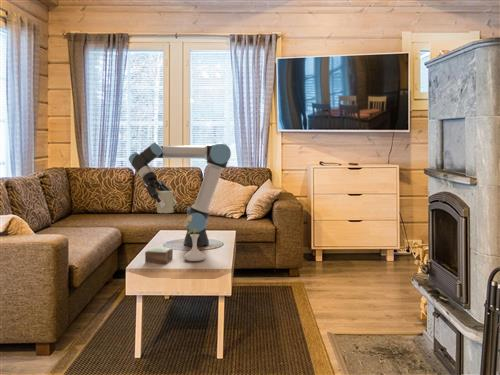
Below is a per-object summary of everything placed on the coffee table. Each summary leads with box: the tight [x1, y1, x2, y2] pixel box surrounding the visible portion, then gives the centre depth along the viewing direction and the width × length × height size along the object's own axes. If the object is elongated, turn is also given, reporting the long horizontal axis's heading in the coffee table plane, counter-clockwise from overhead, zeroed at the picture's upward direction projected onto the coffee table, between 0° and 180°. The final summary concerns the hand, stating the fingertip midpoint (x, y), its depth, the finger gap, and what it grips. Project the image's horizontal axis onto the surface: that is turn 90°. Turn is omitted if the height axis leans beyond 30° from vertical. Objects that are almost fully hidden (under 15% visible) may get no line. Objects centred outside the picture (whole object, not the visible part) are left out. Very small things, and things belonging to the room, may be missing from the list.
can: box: [156, 190, 175, 214], centre depth 280 cm, size 9×9×12 cm
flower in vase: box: [182, 215, 206, 262], centre depth 265 cm, size 13×11×25 cm
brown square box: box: [144, 246, 174, 265], centre depth 264 cm, size 11×11×6 cm
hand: (169, 205), depth 278 cm, fingers closed on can, 9 cm apart
